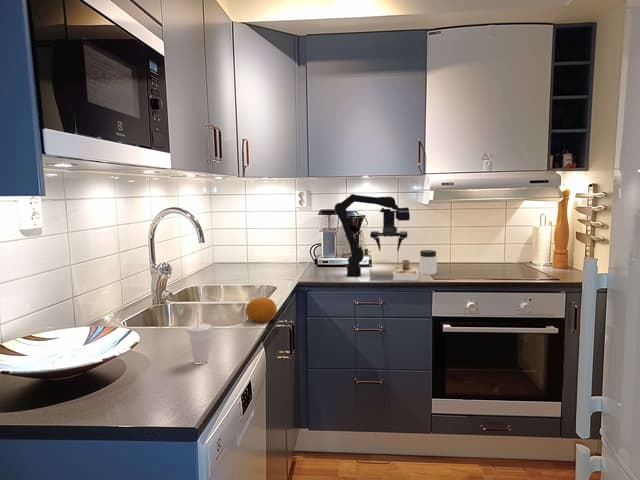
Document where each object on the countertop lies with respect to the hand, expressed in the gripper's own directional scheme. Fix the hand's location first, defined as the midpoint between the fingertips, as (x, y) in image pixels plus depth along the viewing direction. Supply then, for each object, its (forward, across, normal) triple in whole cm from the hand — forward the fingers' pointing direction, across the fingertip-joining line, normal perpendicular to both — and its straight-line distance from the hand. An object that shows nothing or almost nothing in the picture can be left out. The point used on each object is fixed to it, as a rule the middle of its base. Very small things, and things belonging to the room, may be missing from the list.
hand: (388, 251), depth 235 cm
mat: (+13, -3, -9) cm, 16 cm away
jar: (+13, +20, +9) cm, 26 cm away
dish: (+13, +9, -8) cm, 18 cm away
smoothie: (+13, -42, -127) cm, 134 cm away
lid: (+9, +9, -8) cm, 15 cm away
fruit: (+13, -39, -88) cm, 97 cm away
